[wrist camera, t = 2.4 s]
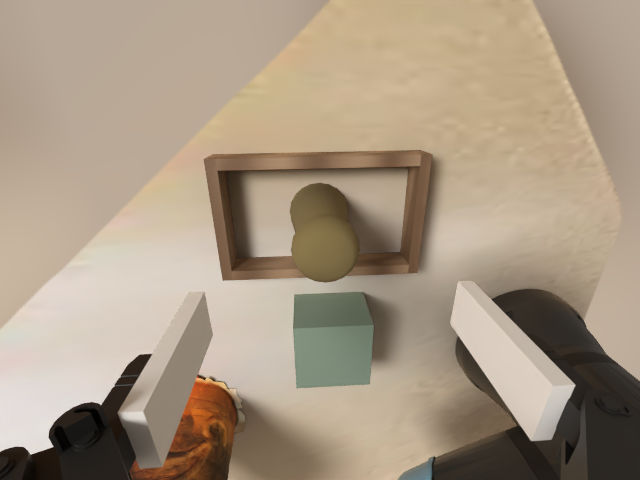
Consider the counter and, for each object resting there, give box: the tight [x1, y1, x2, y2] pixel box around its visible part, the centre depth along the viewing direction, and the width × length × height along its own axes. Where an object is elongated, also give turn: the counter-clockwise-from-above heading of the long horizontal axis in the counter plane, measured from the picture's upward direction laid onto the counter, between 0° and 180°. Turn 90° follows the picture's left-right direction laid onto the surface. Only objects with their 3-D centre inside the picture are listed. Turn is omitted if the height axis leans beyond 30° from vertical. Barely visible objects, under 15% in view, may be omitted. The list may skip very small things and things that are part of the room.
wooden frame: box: [204, 150, 432, 280], centre depth 31 cm, size 20×12×3 cm, turn 91°
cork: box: [290, 183, 360, 282], centre depth 27 cm, size 6×6×11 cm
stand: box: [293, 292, 374, 388], centre depth 35 cm, size 8×8×6 cm
